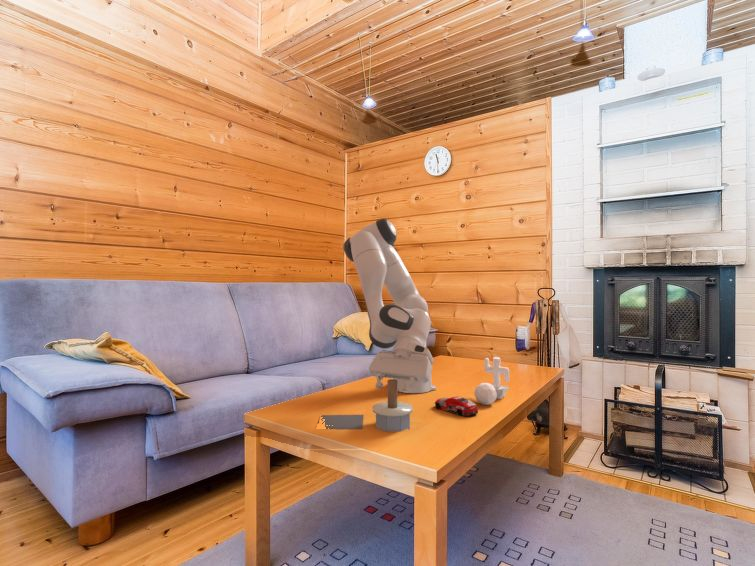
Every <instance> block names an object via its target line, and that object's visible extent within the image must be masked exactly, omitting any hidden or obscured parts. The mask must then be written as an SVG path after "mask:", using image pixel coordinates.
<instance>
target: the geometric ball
mask: <svg viewBox="0 0 755 566" xmlns="http://www.w3.org/2000/svg"><path fill="white" fill-rule="evenodd" d="M491 384H492V383H489V382H481V383H480V384H478V385H477V386H476V387H475V389H474V393H473V394H474V397H475V400H476V402H478V403H479V404H480V405H483V406H487V405H488V406H490V405H491V404H493V403H494V402H495V401H496V400H497V398H496V397H497V393H496V390H495V388H494V387H493V386H492V385H491Z"/></svg>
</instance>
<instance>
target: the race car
mask: <svg viewBox="0 0 755 566" xmlns="http://www.w3.org/2000/svg"><path fill="white" fill-rule="evenodd" d="M434 406H435V409H437V410H443V411H446V412H450V413H451V414H452V413H453V414H455V415H457V416H459V417H460V416H461V417H462V416H464V417H465V416H467V417H468V416H472V415H473V416H474V415H476V414H478V413H479V410H478V405H477V404H476V403H474V402H473V401H471V400H470V399H467V398H466V397H462V396H452V397H441V398H438V399H436V400H435V402H434Z"/></svg>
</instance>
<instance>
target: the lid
mask: <svg viewBox="0 0 755 566" xmlns="http://www.w3.org/2000/svg"><path fill="white" fill-rule="evenodd" d="M386 381H387V383H386V385H387V392H386V394H387V397H386V398H387V401H382V402H377V403H375V404H374V405H372V413H374V414H375V415H376V414H378V415H382V416H404V415H408V414H410V415H411V413H412V412H413V406H412V405H411V404H410V403H406V402H401V401H398V391H397V380H395V379H392V378H389V379H387V380H386Z"/></svg>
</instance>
